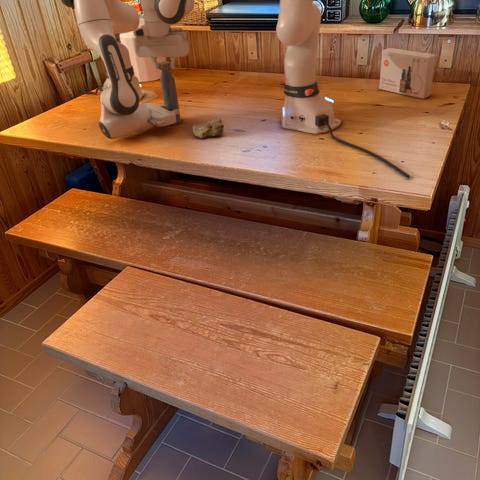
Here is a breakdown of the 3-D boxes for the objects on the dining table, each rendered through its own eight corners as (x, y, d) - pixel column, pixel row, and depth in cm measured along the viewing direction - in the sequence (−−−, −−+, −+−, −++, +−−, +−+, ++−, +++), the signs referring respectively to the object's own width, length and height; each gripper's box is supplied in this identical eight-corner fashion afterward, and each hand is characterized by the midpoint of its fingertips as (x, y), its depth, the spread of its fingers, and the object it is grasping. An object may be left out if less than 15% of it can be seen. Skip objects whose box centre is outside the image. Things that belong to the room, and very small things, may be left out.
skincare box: (377, 89, 194) (381, 50, 185) (385, 86, 197) (389, 47, 188) (423, 99, 180) (429, 56, 171) (430, 95, 183) (437, 53, 174)
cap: (159, 67, 173) (158, 62, 172) (171, 66, 173) (170, 60, 172) (159, 70, 169) (158, 64, 168) (171, 69, 170) (170, 63, 169)
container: (160, 81, 233) (149, 21, 217) (121, 82, 238) (108, 23, 222) (174, 69, 249) (165, 13, 233) (138, 70, 254) (126, 15, 238)
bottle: (172, 119, 186) (163, 61, 174) (184, 120, 184) (174, 62, 171) (164, 123, 182) (154, 65, 170) (175, 125, 180) (166, 66, 167)
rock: (192, 135, 173) (196, 140, 164) (189, 118, 170) (194, 122, 161) (220, 130, 175) (226, 135, 166) (218, 113, 172) (223, 117, 163)
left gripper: (154, 116, 165) (186, 106, 172) (129, 104, 179) (160, 95, 186) (157, 133, 169) (189, 122, 175) (132, 120, 183) (162, 110, 189)
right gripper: (188, 26, 163) (194, 66, 171) (137, 27, 169) (144, 66, 177) (182, 29, 158) (187, 71, 166) (129, 31, 164) (137, 71, 172)
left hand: (174, 108), depth 181 cm, fingers closed on bottle, 5 cm apart
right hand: (165, 69), depth 171 cm, fingers closed on cap, 4 cm apart
